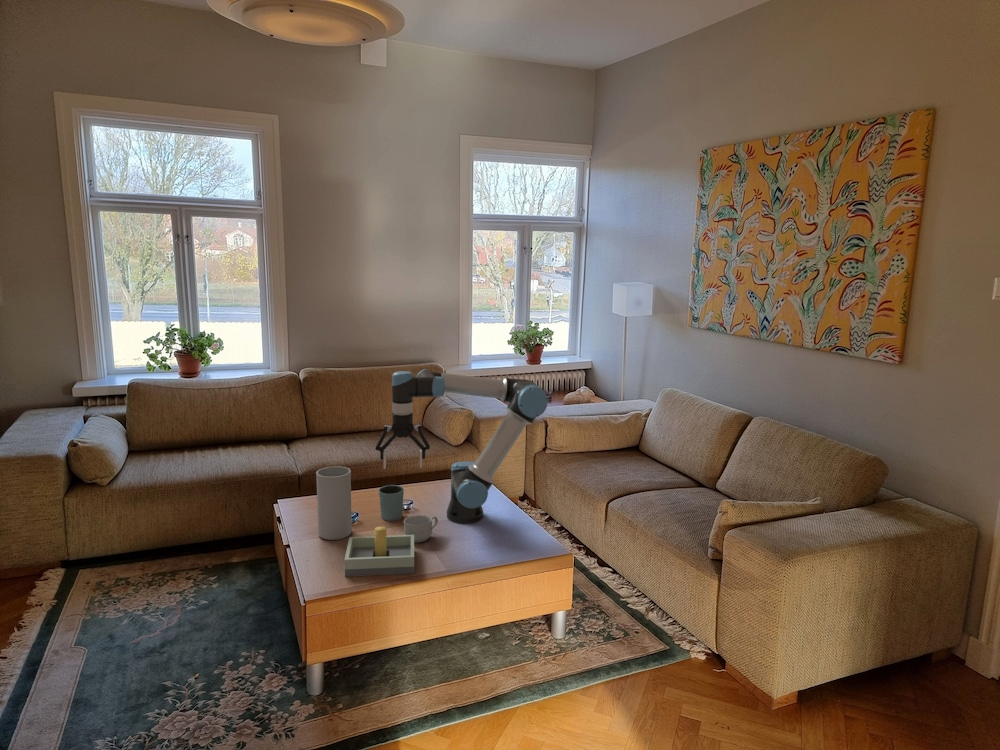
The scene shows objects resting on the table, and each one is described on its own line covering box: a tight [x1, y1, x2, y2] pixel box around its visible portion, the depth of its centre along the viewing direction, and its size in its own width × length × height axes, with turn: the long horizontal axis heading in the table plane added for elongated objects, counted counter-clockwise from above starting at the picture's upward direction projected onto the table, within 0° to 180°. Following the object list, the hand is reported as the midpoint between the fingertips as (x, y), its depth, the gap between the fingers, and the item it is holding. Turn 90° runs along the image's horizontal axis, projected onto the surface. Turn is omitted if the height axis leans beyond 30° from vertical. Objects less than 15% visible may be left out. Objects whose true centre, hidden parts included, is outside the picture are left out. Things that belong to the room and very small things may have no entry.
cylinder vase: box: [315, 466, 353, 541], centre depth 253 cm, size 12×12×25 cm
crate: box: [344, 534, 415, 577], centre depth 232 cm, size 23×18×6 cm
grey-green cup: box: [378, 484, 405, 522], centre depth 272 cm, size 10×10×12 cm
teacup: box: [403, 514, 439, 543], centre depth 252 cm, size 14×11×8 cm
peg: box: [374, 526, 387, 557], centre depth 233 cm, size 4×4×12 cm
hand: (402, 467), depth 252 cm, fingers open, 13 cm apart
